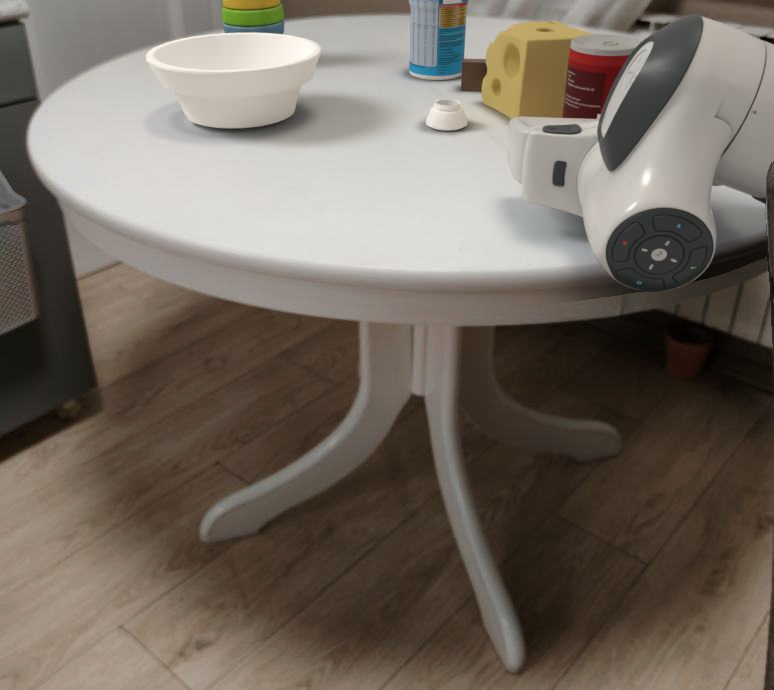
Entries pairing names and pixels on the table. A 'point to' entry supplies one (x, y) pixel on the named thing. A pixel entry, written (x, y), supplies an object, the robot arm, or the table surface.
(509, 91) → the cheese
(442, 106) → the lidless jar
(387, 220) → the table surface
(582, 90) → the canned food
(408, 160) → the table surface
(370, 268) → the table surface
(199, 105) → the bowl
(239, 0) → the stacking bear
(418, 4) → the beverage bottle
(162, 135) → the table surface
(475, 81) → the back rail
